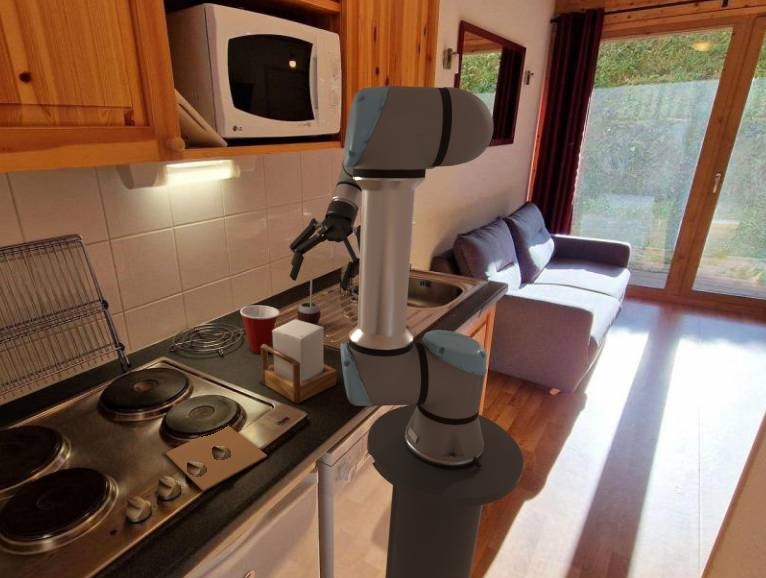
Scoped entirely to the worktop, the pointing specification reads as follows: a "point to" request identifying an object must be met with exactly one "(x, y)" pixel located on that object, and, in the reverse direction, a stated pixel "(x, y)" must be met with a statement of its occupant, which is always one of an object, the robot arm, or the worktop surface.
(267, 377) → the open wooden box
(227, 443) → the mat
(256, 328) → the plastic cup
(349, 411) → the worktop surface
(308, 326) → the rectangular carton
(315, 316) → the mate gourd
